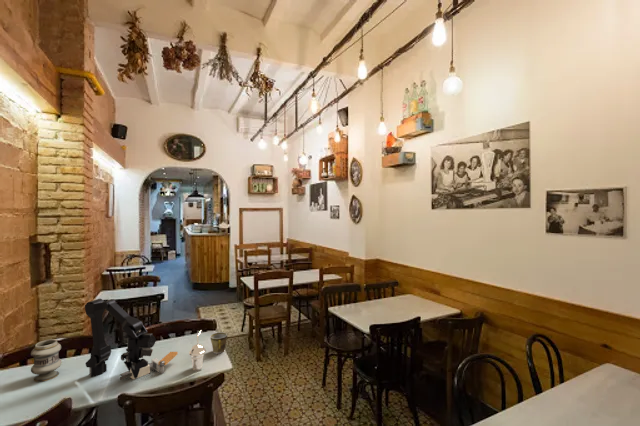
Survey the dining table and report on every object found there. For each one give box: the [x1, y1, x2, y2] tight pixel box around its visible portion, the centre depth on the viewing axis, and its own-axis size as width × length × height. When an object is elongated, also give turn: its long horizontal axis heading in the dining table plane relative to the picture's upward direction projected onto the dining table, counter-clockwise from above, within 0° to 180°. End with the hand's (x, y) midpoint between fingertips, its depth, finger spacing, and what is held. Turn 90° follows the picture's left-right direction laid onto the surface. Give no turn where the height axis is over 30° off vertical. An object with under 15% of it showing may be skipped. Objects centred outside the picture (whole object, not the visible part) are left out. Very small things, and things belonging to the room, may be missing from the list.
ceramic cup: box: [209, 331, 228, 355], centre depth 186 cm, size 13×10×10 cm
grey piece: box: [119, 357, 166, 384], centre depth 160 cm, size 16×18×5 cm
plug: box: [119, 363, 151, 381], centre depth 157 cm, size 13×4×4 cm, turn 141°
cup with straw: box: [188, 329, 207, 373], centre depth 166 cm, size 8×9×20 cm
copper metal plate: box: [158, 351, 178, 367], centre depth 166 cm, size 4×13×2 cm, turn 177°
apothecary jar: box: [30, 339, 63, 383], centre depth 159 cm, size 12×12×18 cm
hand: (134, 376), depth 157 cm, fingers closed on plug, 4 cm apart
